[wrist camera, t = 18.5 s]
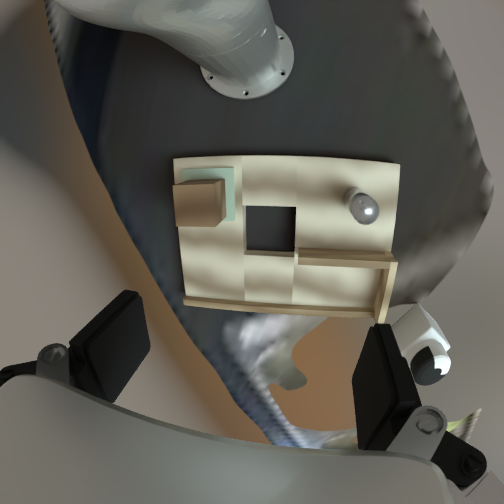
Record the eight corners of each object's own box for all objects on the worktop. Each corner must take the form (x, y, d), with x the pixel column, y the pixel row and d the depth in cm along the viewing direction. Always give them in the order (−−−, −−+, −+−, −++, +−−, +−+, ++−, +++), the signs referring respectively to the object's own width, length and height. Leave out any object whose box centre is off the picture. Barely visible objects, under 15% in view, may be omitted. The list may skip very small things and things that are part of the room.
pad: (183, 169, 36) (181, 169, 36) (234, 167, 35) (232, 167, 34) (186, 218, 39) (184, 220, 38) (235, 219, 38) (234, 221, 37)
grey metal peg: (343, 186, 34) (353, 195, 27) (366, 187, 33) (380, 198, 27) (342, 209, 35) (351, 223, 28) (364, 210, 34) (377, 225, 28)
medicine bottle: (407, 348, 43) (425, 396, 32) (386, 329, 42) (402, 380, 31) (437, 322, 40) (462, 368, 29) (417, 301, 39) (443, 347, 28)
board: (179, 158, 38) (161, 160, 33) (395, 163, 33) (409, 166, 28) (191, 294, 46) (178, 312, 41) (375, 306, 41) (382, 326, 36)
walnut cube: (188, 179, 36) (172, 185, 31) (225, 178, 35) (213, 184, 30) (191, 216, 38) (176, 226, 33) (226, 216, 37) (215, 227, 32)
